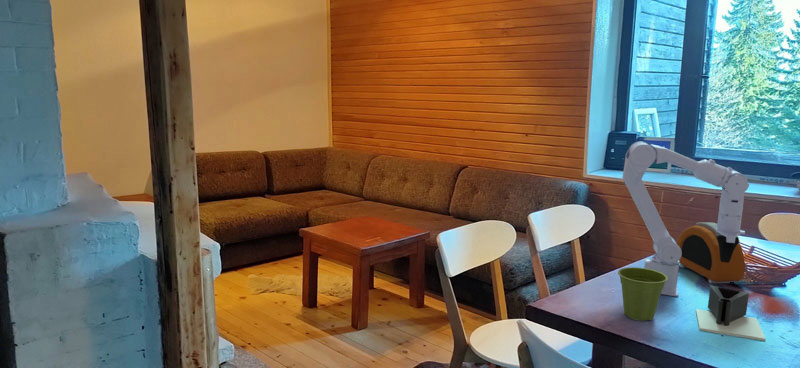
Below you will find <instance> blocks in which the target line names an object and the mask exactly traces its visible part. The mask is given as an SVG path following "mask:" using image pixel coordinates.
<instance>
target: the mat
mask: <svg viewBox="0 0 800 368" xmlns="http://www.w3.org/2000/svg"><path fill="white" fill-rule="evenodd" d="M695 313H696V319H697V323H698V330H699V331H701V332H707V333H714V334H719V335H727V336H733V337H737V338H738V337H739V338H744V339H750V340H758V341H763V342H766V336H765V333H764V332H763V330H762V328H761V325H760V323H759V321H758V319H757V318H755V317H749V316H743V317H741V318H739V319H736V320H734V321H732V322H730V324H729V326H724V322H722V321H721V324H720V325H719V324H717V323H716V318H715V317H714V315H713V314H712V312H711V311H710V310H703V309H699V308H696V309H695Z"/></svg>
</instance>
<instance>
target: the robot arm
mask: <svg viewBox="0 0 800 368" xmlns="http://www.w3.org/2000/svg"><path fill="white" fill-rule="evenodd" d="M654 163H655V164H657V165H658V164H662V163H667V164H671V165H674V166H676V167H679V168H682V169H684V170H686V171H687V170H688V171H690V172H692V173H693V175H694V177H695V179H697V180H699V181H702V182H704V183H706V184H709V185H712V186H714V187H717V188H721V191H720V192H721V195H720V198H719V209H718V215H717V216H718V217H717V228H716V232H718V233H720V234H721V235H716V238H717V241H718V244H719V253H720V260H721V262H727V263H729V262H730V259H731V257H732V254H733V251H734V249H735V247H736V246H737V245H738V243H740V238H739V236H741V235H745V234H746V231H745V230H742V229H741V226H742V218H743V211H744V201H745V200H744V198H745V192H747V190H748V189H749V187H750V183H749V182H748V181H749V180H748V178H747V177H746V175H744V174H743V173H741V172H739V171H736V169H733V168H732V167H731V166H727V167H726V166H723V165H720V164H717V163H716V160H714V159H711V158H710V159H701V160H700V161H697V160H695V159H693V158H691V157H688V156H685V155H684V154H680V153H678V152H676V151H673V150H671V149H669V148H666V147H663V146H661V145H660V146H659V145H656V144H652V143H650V144H649V143H648V142H645V141H640V140H639V141H636V142H634V143H632V144H631V145H630V146H629V148H628V150H627V151H626V153H625V160H624V166H623V173H622V180H623V181H624V184H625V186H626V188H627V190H628V192H629V194H630V197H631V198H632V200H633V202H634V205H635V207H636V208H637V210H638V212H639V214H640V217H641V218H642V220H643V222H644V224H645V226H646V228H647V230H648V232H649V234H650V237H651V239H652V243H653V244H652V248H653V250H654V252H655V253H654V255H653V256H652V257H651V258H645V259H644V263H643V264H644V265H643V266H644V267H643V268H646V269H651V270H655V271H658V272H661V273H663V274H665V275H666V276H667V277H668V280H667V281H666V282H665V283H664V287H663V289H662V291H661V294H660V295H664V296H671V297H679V290H678V289H679V288H678V279H679V278H678V277H679V269H680V263H679V262H680V261H679V259H680V258H681V255H682V251H681V249H680V247H679V246H678V245H677V244H676V242H677V241H676V239H674V238H673V237H672V235H670V233H669V231H668V230H667V227H666V226H665V224H664V221H663V220H662V218H661V216H660V214H659V212H658V209H657V207H656V205H655V204H654V202H653V199H652V198H651V195H650V194H649V191H648V190H647V188H646V185H645V184H644V182H643V177H644V175H645V174H646V172H647V169H649V167H651V166H652V165H653V164H654Z"/></svg>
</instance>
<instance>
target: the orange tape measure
mask: <svg viewBox="0 0 800 368" xmlns="http://www.w3.org/2000/svg"><path fill="white" fill-rule="evenodd" d="M717 223H718V222H717ZM717 223H715V222H711V221H710V222H706V221H705V222H704V221H702V222H696V223H695V225H691V226H689V227H686V228H685V229H684V230H682V231H681V233H679V235H678V238H677V240H676V241H675V242H676V244H677V245H678V246H679V247H680V249H681V251H682V255H681V258H680V259H679V261H680V262H679V268H688V269H690V270H692V271H694V272H695V273H697V274H699V275H701V276H703V277H705V278H706V279H707V280H708V283H709V284H731V283H730V282H731V281H734V282H740V281H742V280H743V279H744V275H745V267H746V262H745V256H744V251H743V248H742V245H741V243H740V242H739V243H738V245H737V246H736V247H735V249H734V251H733V254H732V257H731V259H730V262H729V263H727V262H721V260H720V253H719V244H718V241H717V238H716V235H721V234H720V233H718V232H716V228H717Z"/></svg>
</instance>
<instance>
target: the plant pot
mask: <svg viewBox="0 0 800 368" xmlns="http://www.w3.org/2000/svg"><path fill="white" fill-rule="evenodd" d="M617 275H619V277H620V279H619V282H620V284H621V292H622V293H621V294H622V303H623V304H622V305H623V306H622V307H623V314H624V316H626V317H628V318H629V319H631V320H634V321H640V322H646V321H648V320H650V321H652V320H653V319H655V315H656V311H657V308H658V305H659V301H660V297H661V295H662V294H661V291H662V289H663V287H664V283H665V282H666V281H667V280H668V277H667V276H666V275H665V274H663V273H661V272H658V271H655V270H651V269H646V268H644V267H632V266H631V267H624V268H622V267H621V269H619V270H617Z"/></svg>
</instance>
